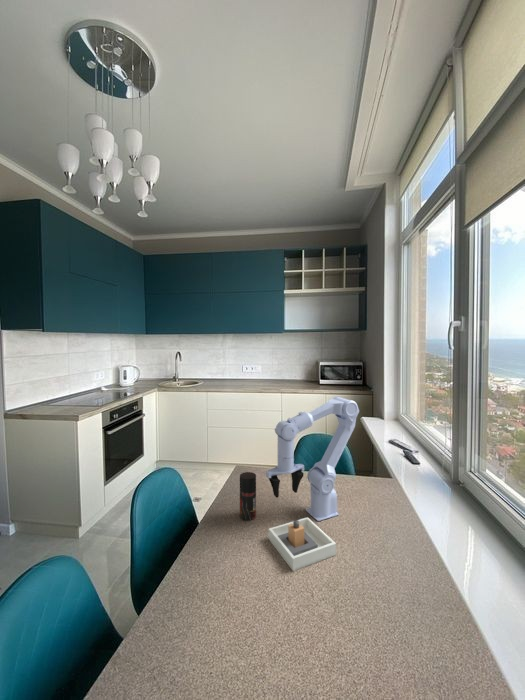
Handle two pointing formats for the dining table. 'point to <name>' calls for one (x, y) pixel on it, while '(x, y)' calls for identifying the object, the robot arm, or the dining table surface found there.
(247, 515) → the deodorant
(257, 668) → the dining table surface
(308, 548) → the inlet socket
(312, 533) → the walled box
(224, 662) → the dining table surface
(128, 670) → the dining table surface
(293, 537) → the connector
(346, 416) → the robot arm
